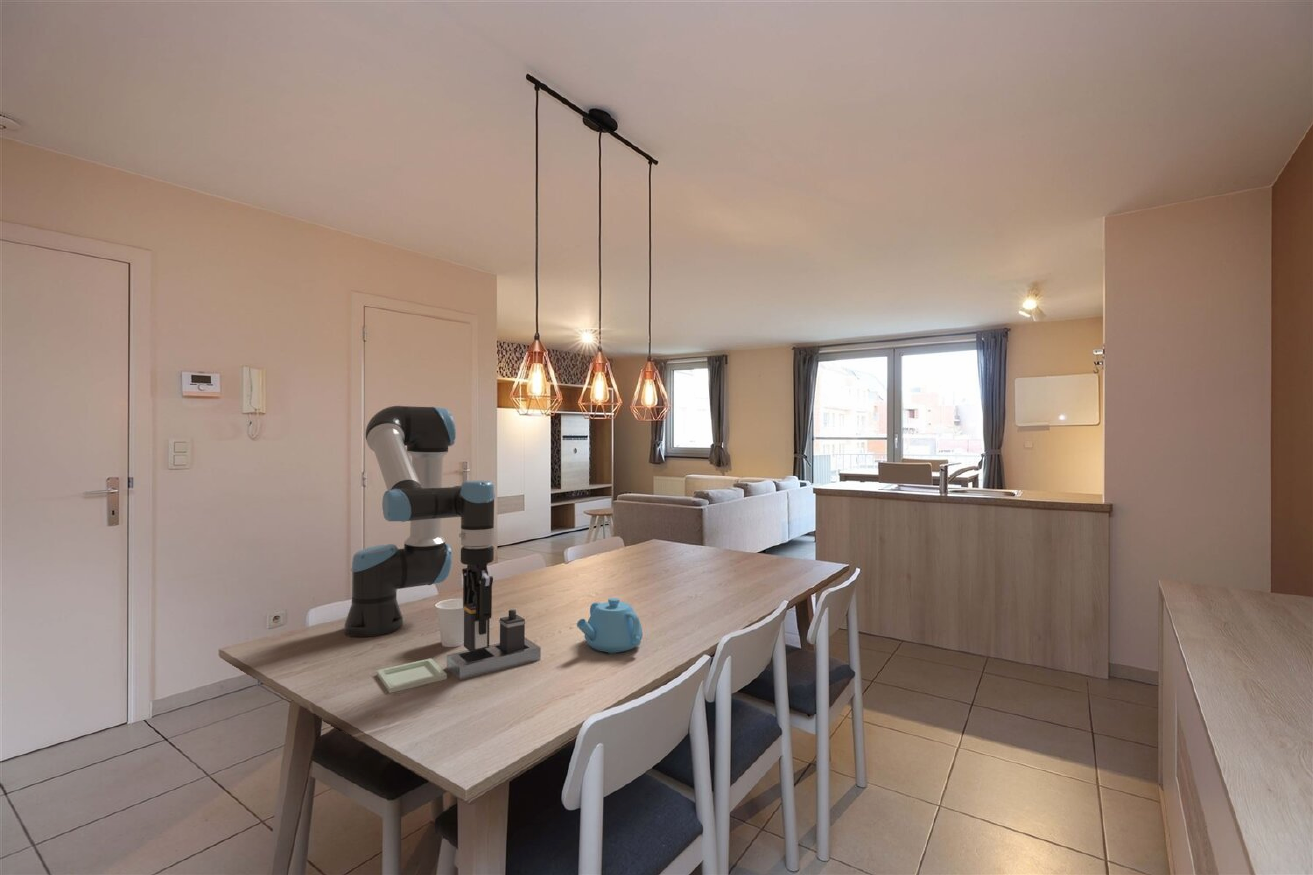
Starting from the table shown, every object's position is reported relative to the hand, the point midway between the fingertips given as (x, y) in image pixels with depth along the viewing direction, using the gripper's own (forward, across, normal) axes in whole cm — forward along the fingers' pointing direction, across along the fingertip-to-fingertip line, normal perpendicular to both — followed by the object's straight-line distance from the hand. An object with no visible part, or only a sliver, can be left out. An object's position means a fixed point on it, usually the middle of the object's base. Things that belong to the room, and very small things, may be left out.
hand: (476, 643), depth 134 cm
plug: (+1, 0, 0) cm, 1 cm away
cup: (+6, -20, +2) cm, 21 cm away
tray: (+6, -4, -14) cm, 15 cm away
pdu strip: (+6, 0, +4) cm, 8 cm away
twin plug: (+6, 0, +9) cm, 11 cm away
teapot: (+6, +7, +32) cm, 34 cm away
